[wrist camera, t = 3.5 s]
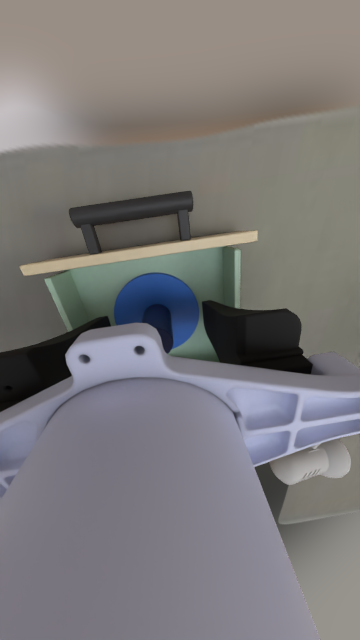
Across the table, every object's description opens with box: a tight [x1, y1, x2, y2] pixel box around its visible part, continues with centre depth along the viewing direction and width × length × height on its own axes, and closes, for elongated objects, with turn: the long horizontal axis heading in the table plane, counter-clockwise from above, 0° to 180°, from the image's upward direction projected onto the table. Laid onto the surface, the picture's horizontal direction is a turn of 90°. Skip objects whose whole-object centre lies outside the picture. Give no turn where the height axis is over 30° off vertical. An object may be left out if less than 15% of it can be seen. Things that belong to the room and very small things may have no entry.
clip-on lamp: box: [269, 438, 351, 485], centre depth 22 cm, size 12×6×18 cm
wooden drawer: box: [20, 191, 257, 363], centre depth 14 cm, size 14×14×3 cm
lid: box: [114, 272, 199, 354], centre depth 13 cm, size 7×7×5 cm
